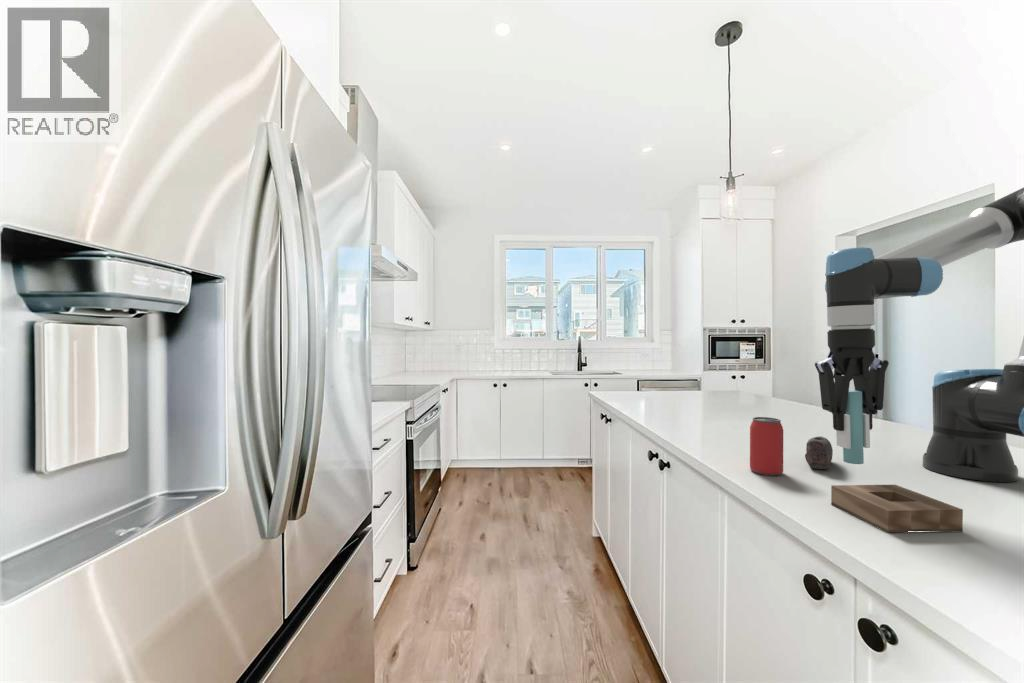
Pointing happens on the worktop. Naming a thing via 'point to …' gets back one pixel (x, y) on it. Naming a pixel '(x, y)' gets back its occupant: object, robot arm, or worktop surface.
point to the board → (896, 508)
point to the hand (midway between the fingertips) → (853, 446)
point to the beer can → (766, 446)
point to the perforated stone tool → (819, 452)
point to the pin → (855, 429)
